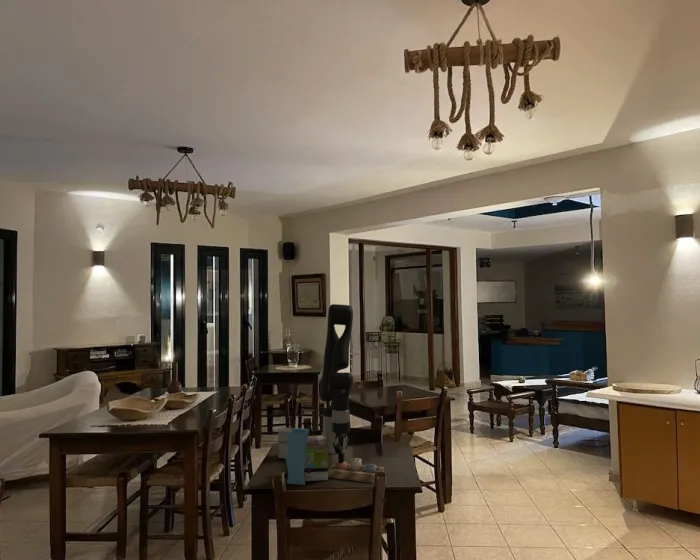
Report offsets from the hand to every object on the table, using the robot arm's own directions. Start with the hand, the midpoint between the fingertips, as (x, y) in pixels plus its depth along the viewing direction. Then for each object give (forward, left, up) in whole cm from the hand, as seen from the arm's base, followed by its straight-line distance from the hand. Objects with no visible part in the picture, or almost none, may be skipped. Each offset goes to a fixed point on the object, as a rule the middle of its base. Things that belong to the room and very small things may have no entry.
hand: (341, 462), depth 223 cm
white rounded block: (+6, 0, -3) cm, 7 cm away
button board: (+6, 0, -5) cm, 8 cm away
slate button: (+13, 0, -4) cm, 14 cm away
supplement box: (-33, +15, -5) cm, 36 cm away
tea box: (-10, -5, -5) cm, 12 cm away
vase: (-13, -13, -5) cm, 20 cm away
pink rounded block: (0, 0, -4) cm, 4 cm away
